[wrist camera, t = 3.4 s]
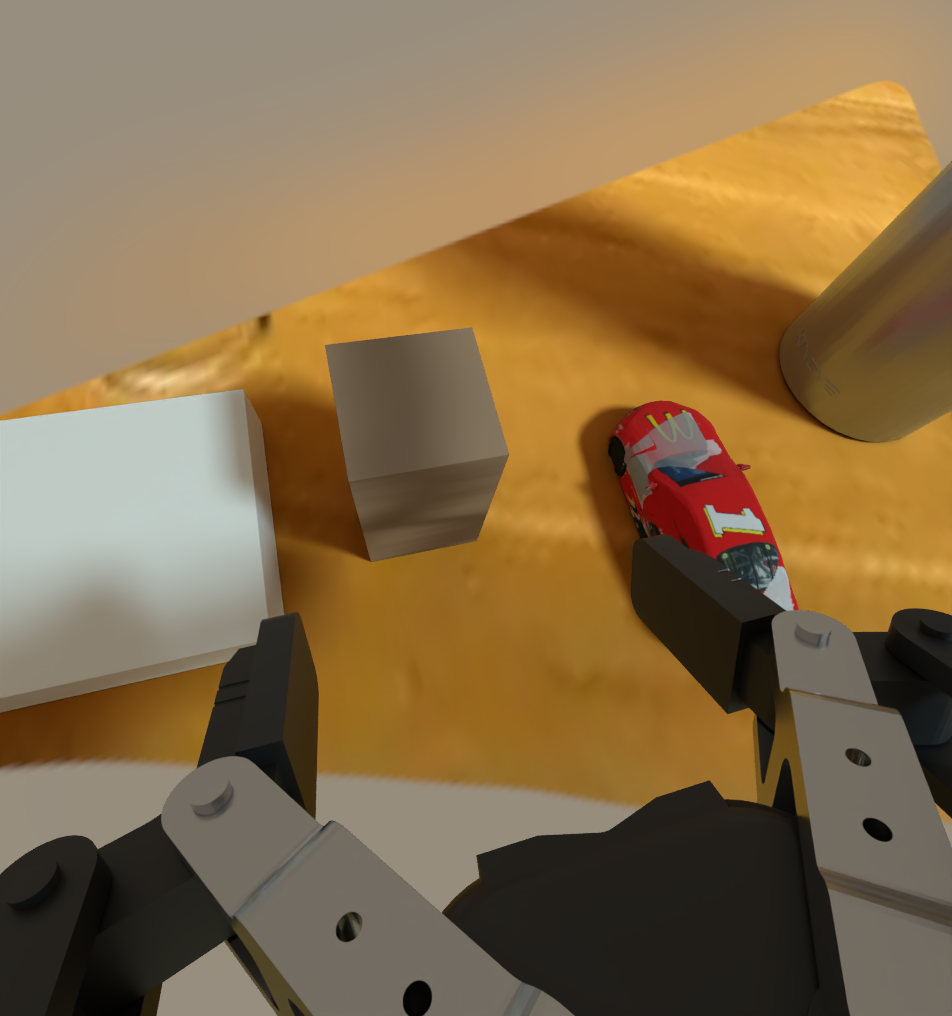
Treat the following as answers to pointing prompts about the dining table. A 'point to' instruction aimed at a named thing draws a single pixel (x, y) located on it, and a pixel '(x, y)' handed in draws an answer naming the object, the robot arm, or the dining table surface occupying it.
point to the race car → (696, 494)
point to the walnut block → (417, 439)
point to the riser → (131, 544)
